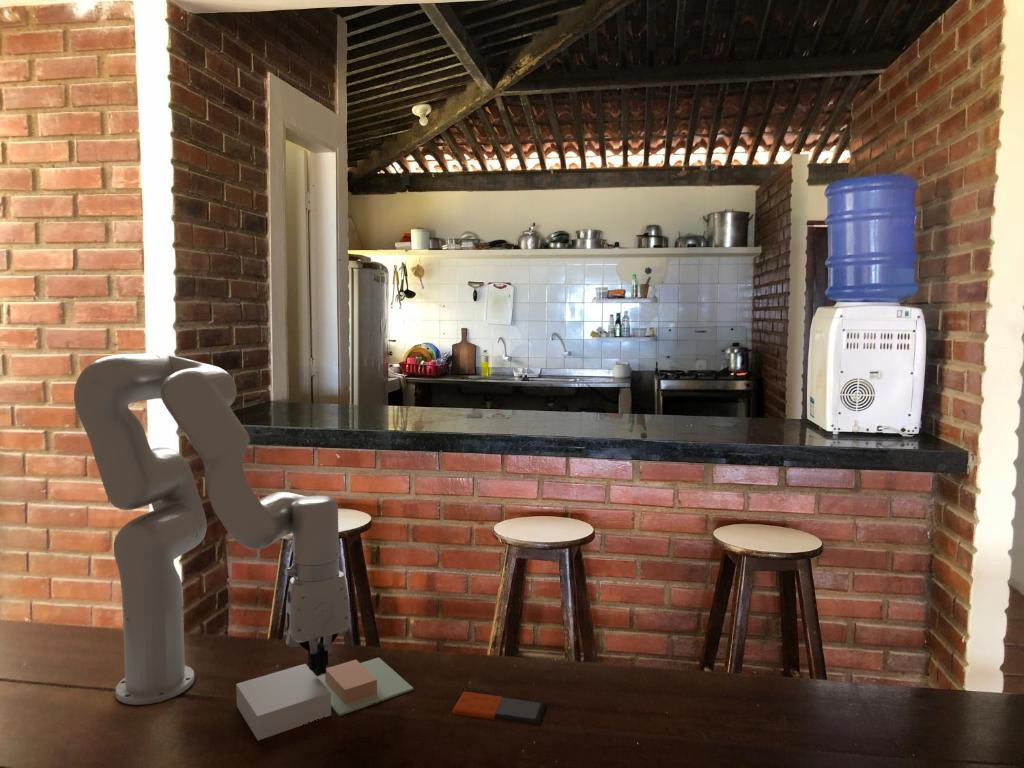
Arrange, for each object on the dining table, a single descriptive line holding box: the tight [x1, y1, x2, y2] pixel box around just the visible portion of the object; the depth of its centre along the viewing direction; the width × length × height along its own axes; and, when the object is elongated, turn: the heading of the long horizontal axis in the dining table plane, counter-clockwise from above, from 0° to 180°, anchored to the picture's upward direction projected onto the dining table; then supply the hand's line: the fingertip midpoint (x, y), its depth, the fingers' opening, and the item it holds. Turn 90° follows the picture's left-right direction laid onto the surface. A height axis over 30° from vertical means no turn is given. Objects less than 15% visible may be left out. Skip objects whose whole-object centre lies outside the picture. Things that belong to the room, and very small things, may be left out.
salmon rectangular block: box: [325, 659, 377, 704], centre depth 122 cm, size 9×6×2 cm, turn 37°
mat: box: [317, 657, 414, 717], centre depth 123 cm, size 14×14×1 cm
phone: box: [452, 691, 546, 727], centre depth 116 cm, size 6×1×15 cm
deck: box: [235, 663, 332, 741], centre depth 115 cm, size 12×12×4 cm
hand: (318, 671), depth 118 cm, fingers closed
